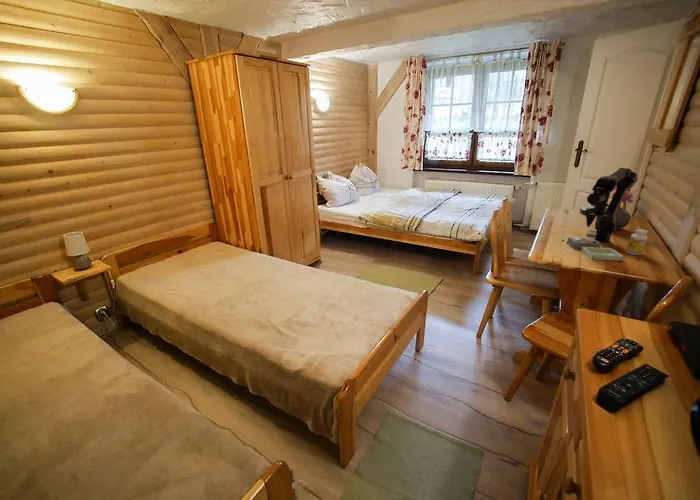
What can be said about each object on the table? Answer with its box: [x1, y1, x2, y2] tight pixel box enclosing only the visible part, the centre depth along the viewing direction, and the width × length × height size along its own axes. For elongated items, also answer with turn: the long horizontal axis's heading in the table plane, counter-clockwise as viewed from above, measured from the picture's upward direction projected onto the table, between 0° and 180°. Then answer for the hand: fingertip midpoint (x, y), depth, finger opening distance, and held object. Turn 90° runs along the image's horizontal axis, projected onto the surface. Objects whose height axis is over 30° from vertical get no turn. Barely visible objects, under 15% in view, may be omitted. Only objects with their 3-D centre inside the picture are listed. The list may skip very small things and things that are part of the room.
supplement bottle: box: [625, 228, 649, 256], centre depth 167 cm, size 7×7×13 cm
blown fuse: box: [584, 229, 597, 243], centre depth 176 cm, size 4×4×9 cm
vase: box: [605, 186, 634, 230], centre depth 200 cm, size 17×18×30 cm
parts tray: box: [580, 247, 625, 262], centre depth 166 cm, size 14×11×2 cm
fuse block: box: [566, 237, 602, 250], centre depth 178 cm, size 13×8×4 cm, turn 82°
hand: (592, 229), depth 174 cm, fingers open, 9 cm apart
